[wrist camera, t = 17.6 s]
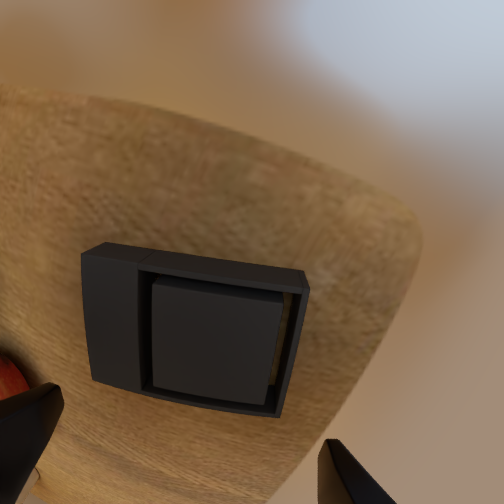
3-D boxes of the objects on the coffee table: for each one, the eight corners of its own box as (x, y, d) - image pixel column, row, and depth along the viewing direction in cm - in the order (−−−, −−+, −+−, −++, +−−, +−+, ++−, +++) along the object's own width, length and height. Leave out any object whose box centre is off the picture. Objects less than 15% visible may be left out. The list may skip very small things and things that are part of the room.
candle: (14, 467, 23) (-19, 514, 13) (-3, 439, 22) (-43, 488, 12) (45, 483, 23) (13, 537, 13) (29, 457, 22) (-11, 514, 12)
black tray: (304, 270, 15) (310, 288, 13) (278, 389, 17) (279, 418, 14) (105, 241, 15) (80, 253, 13) (109, 357, 17) (92, 380, 15)
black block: (281, 283, 15) (284, 303, 13) (265, 377, 17) (264, 405, 14) (168, 267, 15) (151, 283, 13) (166, 360, 17) (152, 386, 14)
